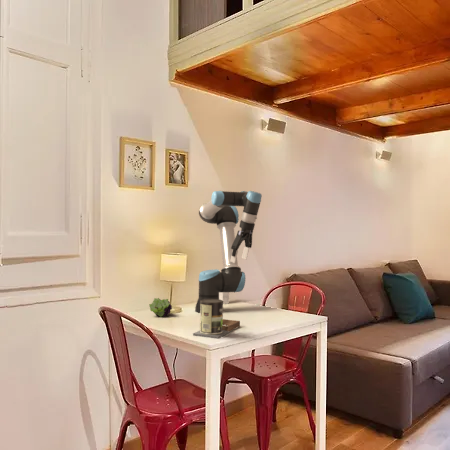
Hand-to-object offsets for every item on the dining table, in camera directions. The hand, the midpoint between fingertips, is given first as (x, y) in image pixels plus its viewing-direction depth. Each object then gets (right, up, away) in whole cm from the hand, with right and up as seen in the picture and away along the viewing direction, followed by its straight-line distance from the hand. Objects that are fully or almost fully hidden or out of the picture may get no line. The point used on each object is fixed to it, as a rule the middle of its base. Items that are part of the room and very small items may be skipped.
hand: (238, 260), depth 235 cm
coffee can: (-13, -30, -33) cm, 46 cm away
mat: (-13, -30, -33) cm, 47 cm away
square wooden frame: (-9, -31, -19) cm, 37 cm away
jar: (-9, -31, +51) cm, 60 cm away
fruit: (-41, -30, +6) cm, 51 cm away
